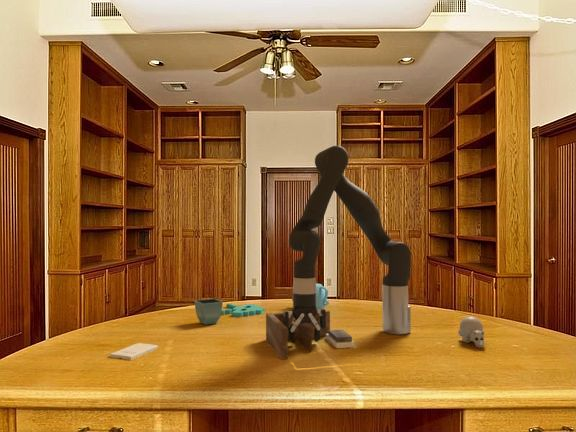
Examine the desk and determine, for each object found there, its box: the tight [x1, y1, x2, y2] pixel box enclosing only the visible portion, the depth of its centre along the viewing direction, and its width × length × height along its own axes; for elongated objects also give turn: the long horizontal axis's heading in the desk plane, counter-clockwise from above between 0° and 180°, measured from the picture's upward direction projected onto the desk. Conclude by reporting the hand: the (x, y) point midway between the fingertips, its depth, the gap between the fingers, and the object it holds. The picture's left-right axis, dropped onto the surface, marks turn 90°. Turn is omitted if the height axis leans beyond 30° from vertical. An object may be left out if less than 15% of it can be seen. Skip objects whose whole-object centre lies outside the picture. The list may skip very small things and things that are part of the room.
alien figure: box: [221, 302, 266, 318], centre depth 193 cm, size 20×2×20 cm
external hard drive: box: [108, 342, 159, 361], centre depth 131 cm, size 2×8×12 cm
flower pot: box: [194, 298, 224, 326], centre depth 170 cm, size 9×9×9 cm
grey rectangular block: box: [328, 329, 353, 342], centre depth 140 cm, size 5×10×2 cm, turn 10°
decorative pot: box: [291, 283, 330, 309], centre depth 199 cm, size 16×16×14 cm
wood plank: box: [298, 326, 314, 352], centre depth 138 cm, size 15×2×5 cm, turn 13°
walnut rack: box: [265, 309, 331, 360], centre depth 138 cm, size 22×22×9 cm
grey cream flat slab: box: [322, 336, 358, 349], centre depth 140 cm, size 7×14×2 cm, turn 14°
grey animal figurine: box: [457, 315, 485, 349], centre depth 140 cm, size 7×12×8 cm, turn 178°
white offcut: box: [325, 334, 356, 349], centre depth 140 cm, size 6×12×2 cm, turn 11°
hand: (304, 342), depth 138 cm, fingers open, 7 cm apart
